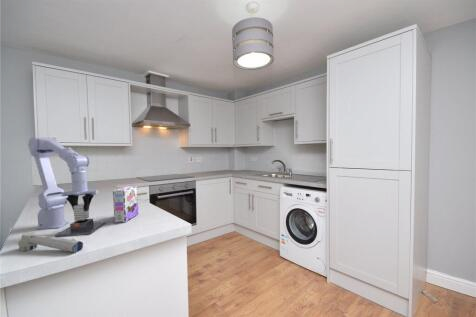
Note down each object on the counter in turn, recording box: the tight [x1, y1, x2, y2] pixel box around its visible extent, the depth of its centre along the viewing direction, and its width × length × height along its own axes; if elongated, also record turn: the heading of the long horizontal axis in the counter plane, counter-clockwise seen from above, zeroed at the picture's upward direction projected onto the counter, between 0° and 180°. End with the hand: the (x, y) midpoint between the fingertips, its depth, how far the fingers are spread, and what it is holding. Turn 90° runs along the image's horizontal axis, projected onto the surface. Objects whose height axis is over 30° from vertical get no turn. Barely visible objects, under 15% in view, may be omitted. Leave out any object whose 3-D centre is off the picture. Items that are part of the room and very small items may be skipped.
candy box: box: [112, 185, 139, 224], centre depth 114 cm, size 14×6×16 cm, turn 179°
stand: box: [54, 218, 107, 238], centre depth 100 cm, size 14×14×4 cm
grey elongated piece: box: [17, 231, 84, 254], centre depth 80 cm, size 5×7×25 cm
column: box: [73, 202, 90, 222], centre depth 99 cm, size 4×4×7 cm
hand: (81, 210), depth 99 cm, fingers closed on column, 4 cm apart
